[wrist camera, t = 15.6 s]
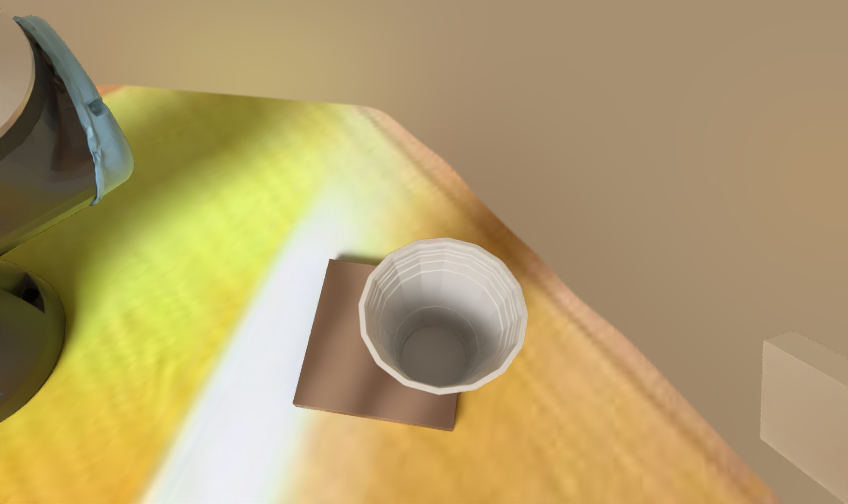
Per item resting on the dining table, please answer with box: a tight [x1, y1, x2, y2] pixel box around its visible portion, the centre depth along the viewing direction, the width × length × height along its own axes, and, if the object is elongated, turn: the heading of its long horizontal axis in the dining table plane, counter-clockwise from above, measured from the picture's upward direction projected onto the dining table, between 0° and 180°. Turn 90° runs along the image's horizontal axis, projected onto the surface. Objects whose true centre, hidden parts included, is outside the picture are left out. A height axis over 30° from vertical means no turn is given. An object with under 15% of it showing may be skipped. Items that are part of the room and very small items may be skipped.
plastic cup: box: [359, 237, 528, 395], centre depth 38 cm, size 11×11×12 cm
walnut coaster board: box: [293, 259, 458, 431], centre depth 45 cm, size 13×13×2 cm
